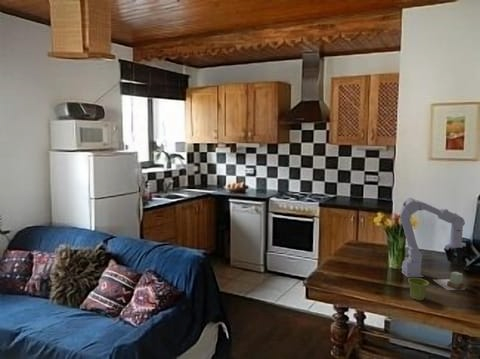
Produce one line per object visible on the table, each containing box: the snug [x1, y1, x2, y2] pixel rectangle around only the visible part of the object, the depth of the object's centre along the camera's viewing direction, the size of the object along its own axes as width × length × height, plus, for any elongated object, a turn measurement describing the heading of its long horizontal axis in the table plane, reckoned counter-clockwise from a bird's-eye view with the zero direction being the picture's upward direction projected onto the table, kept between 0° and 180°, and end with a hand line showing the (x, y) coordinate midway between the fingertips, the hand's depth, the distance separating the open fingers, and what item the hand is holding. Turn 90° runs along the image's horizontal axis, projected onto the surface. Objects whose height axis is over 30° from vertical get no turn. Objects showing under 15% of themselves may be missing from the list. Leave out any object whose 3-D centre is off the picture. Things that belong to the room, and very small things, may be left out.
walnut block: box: [447, 281, 466, 291], centre depth 210 cm, size 6×6×2 cm
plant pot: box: [407, 277, 430, 301], centre depth 197 cm, size 9×9×9 cm
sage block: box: [449, 271, 464, 284], centre depth 209 cm, size 4×4×5 cm
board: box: [432, 278, 466, 291], centre depth 213 cm, size 10×14×1 cm
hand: (454, 260), depth 222 cm, fingers open, 7 cm apart
